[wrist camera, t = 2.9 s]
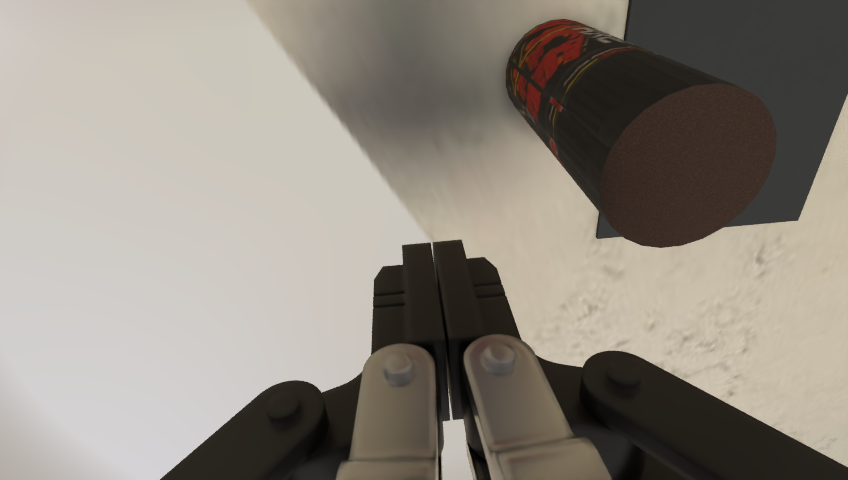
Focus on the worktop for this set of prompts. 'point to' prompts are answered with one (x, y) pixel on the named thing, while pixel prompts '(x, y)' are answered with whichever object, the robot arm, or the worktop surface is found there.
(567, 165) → the deodorant
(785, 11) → the mat
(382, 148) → the worktop surface
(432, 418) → the robot arm
